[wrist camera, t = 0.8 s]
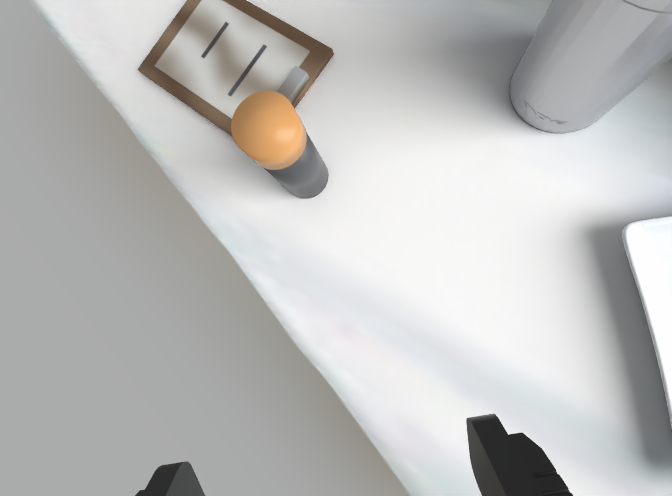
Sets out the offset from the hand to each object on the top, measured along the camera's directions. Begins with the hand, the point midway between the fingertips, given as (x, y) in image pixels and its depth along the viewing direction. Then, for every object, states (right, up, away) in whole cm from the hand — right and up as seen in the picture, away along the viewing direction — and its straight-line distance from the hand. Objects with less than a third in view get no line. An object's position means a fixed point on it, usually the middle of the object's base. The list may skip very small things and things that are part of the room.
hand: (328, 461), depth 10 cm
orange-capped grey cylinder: (-3, +14, +27) cm, 30 cm away
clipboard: (-12, +28, +30) cm, 43 cm away
